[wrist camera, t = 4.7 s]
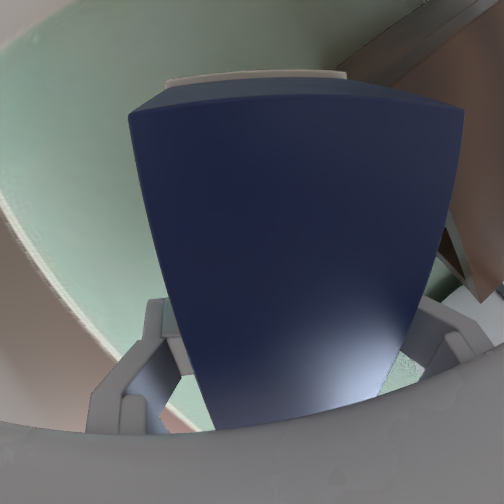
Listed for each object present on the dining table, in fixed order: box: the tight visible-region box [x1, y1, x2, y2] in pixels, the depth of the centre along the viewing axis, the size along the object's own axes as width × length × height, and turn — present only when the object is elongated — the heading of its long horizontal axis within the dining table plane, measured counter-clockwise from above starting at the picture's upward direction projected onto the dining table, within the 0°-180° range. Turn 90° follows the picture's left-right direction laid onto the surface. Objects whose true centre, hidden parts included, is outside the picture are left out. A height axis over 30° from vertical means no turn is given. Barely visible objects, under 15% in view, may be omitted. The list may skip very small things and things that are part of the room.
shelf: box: [333, 0, 504, 304], centre depth 13 cm, size 11×16×6 cm
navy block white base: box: [128, 69, 465, 430], centre depth 9 cm, size 13×5×6 cm, turn 3°
